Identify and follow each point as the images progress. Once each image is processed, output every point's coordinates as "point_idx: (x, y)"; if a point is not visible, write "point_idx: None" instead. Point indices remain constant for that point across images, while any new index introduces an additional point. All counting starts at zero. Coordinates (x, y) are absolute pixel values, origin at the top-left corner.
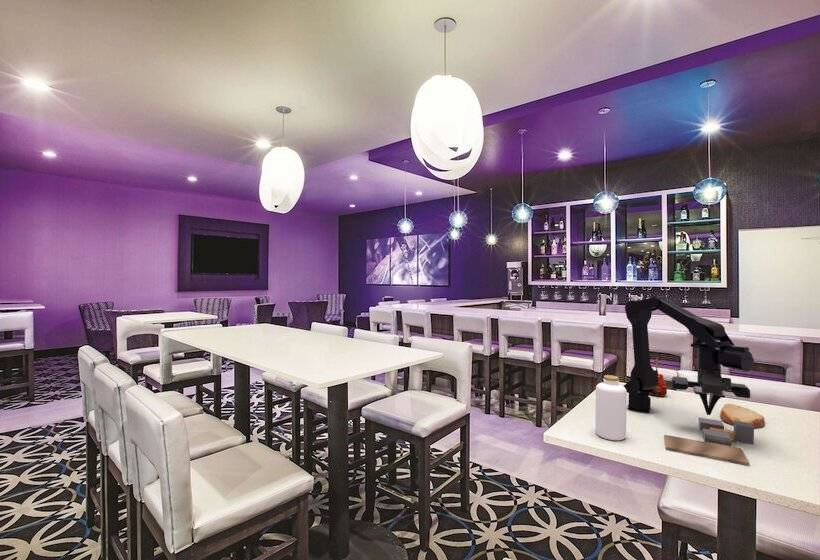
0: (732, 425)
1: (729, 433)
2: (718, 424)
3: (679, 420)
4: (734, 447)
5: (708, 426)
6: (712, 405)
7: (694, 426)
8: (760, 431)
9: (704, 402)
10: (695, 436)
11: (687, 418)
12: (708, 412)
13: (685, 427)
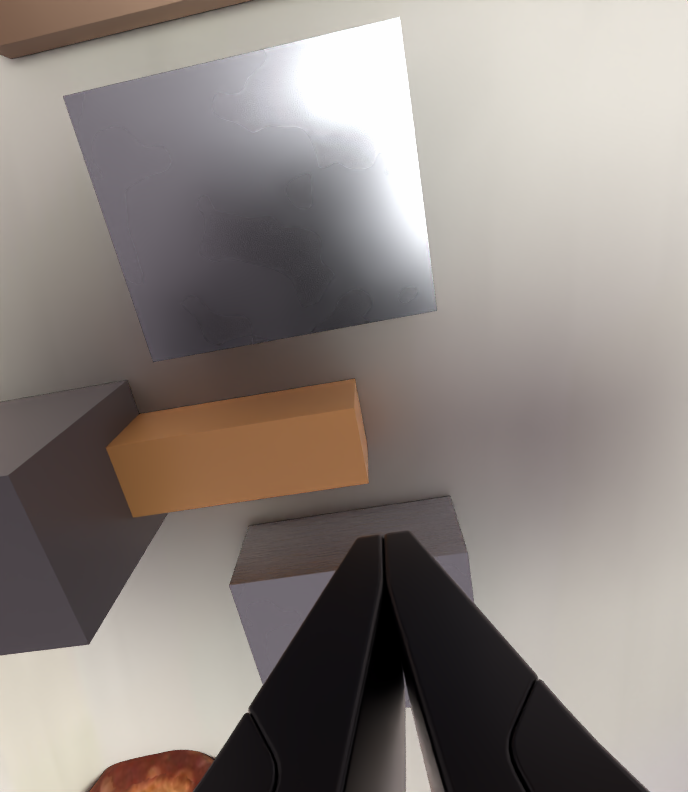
0: None
1: (164, 432)
2: (286, 599)
3: (625, 647)
4: (50, 14)
5: None
6: (297, 703)
7: (499, 569)
8: (46, 756)
9: (541, 737)
10: (493, 244)
11: None
12: (387, 555)
13: (584, 484)
